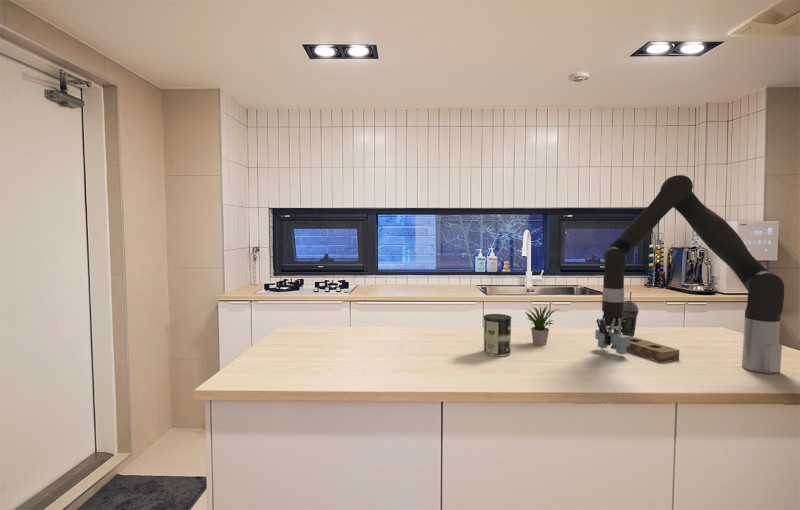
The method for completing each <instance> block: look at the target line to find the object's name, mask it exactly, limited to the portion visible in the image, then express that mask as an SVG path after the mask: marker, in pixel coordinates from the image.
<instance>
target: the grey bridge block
mask: <svg viewBox="0 0 800 510" xmlns="http://www.w3.org/2000/svg"><path fill="white" fill-rule="evenodd" d="M607 332H608V330H607ZM595 340H597V347H598V348H602V349H605V348H606V349H607V348H608V345H605V343H604V334H601V333H600V331H599V329H595ZM612 344H614V345H617V347H615V348H616V350H615V351H616V354H620V355H626V354H627V353H628V351H627V346H630V337H629V336H625V335H622V333H621V334H618V333H615V332H614V331H612V332H611V345H612Z"/></svg>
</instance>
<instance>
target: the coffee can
mask: <svg viewBox="0 0 800 510" xmlns="http://www.w3.org/2000/svg"><path fill="white" fill-rule="evenodd" d="M511 332H512V316H511V315H508V314H503V313H489V314H484V315H483V351H482V352H483V354H484V355H487V356H491V357H498V358H499V357H508V356H510V355H511V353H512V352H511V351H512V350H511V349H512V348H511V347H512V346H511V343H512V342H511V338H512V337H511V336H512V335H511V334H512V333H511Z"/></svg>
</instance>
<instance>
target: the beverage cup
mask: <svg viewBox="0 0 800 510" xmlns="http://www.w3.org/2000/svg"><path fill="white" fill-rule="evenodd" d="M638 314H639V308H638V305H637V303H635V302H634V301H632V291H630V293H629V300H628V301H627V300H626V301H624V312H623V313H622V315H623V317H626V318H628V323H627V326H626V329H625V332H624V333H621V334H622V335H625V336H632V337H633V336H634V337H635V333H636V325H637V319H638ZM622 327H623V326H622ZM622 327H621V328H622Z"/></svg>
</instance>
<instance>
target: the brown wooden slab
mask: <svg viewBox="0 0 800 510" xmlns="http://www.w3.org/2000/svg"><path fill="white" fill-rule="evenodd" d="M629 337H630V346H627V352H628V351H630V352H629V353H631V352H633V353H632V354H634V353H636V354H635V355H637V354H639V355H638V356H640V355H642V356H641V357H643V356H645V357H644V358H647V357H648V358H647V359H650V358H651V359H650V360H653V359H654V360H653V361H656V362H659V363H663V362H664V361H665V362H671V361H670V360H672V361H678V359H679V360H680V349H677V348H675V347H674V348H673V347H671V346H670V347H669V346H666V345H663V344H660V343H657V342H653V341H650V340H646V339H642V338H639V337H635V336H634V337H632V336H629ZM613 346H615V347H614V348H616V347H617V345H614V344H611V347H613ZM665 362H664V363H665Z"/></svg>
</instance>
